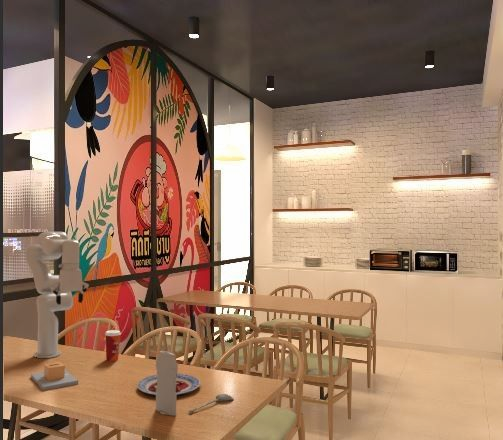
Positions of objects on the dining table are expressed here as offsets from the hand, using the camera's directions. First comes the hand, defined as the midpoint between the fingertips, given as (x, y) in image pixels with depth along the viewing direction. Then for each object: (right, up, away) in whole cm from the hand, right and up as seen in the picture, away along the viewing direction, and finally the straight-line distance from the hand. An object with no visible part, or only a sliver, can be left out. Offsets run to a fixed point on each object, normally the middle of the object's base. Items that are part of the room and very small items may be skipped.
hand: (69, 303), depth 218 cm
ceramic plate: (+51, -31, -24) cm, 64 cm away
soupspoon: (+70, -32, -41) cm, 87 cm away
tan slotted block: (0, -29, -17) cm, 34 cm away
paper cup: (+16, -31, +15) cm, 38 cm away
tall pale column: (+54, -31, -49) cm, 79 cm away
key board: (0, -30, -18) cm, 35 cm away
